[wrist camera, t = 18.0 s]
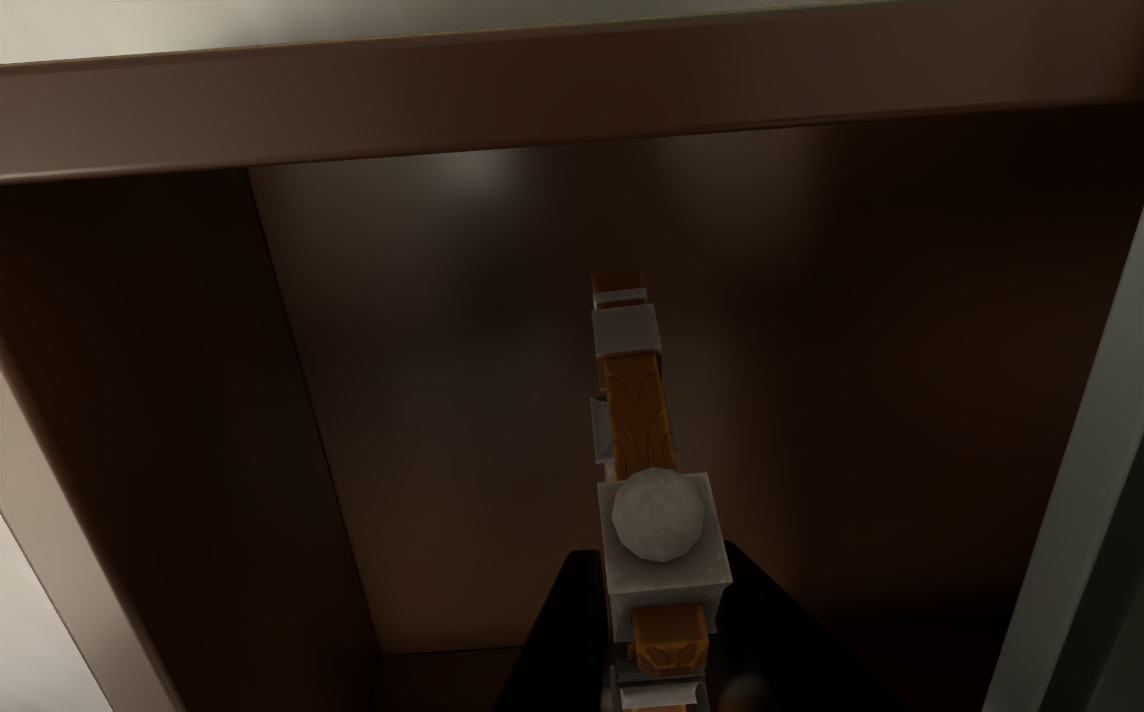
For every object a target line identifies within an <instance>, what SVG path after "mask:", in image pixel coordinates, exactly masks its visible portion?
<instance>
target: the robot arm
mask: <svg viewBox="0 0 1144 712" xmlns="http://www.w3.org/2000/svg"><path fill="white" fill-rule="evenodd" d="M723 542H724V546H725V550H726V554H727V559H728V563H729V567H730V571H731V576H732V580H733V583H731V584H730V585H729V586H727V587H726V588H725V589H723V592H722V596H721V600H720V603H719V607H718V610H717V614H716V617H715V623H716V628H717V633H709V634H708V640H709V647H708V657H709V662H710V667H711V673H712V678H713V683H714V688H715V693H716V698H717V703H718V707H719V712H916V711H915V710H914V709H913V708H912V707H911V706H910V705H909V704H907V703H906V702H905V701H904V700H903V699H902V698H901V697H900V696H899V695H898V694H897V693H896V692H894V691H893V690H892V689H891V688H890V687H889V686H888V685H887V684H886V683H885V682H884V681H883V680H881V679H880V678H879V677H878V676H877V675H876V674H875V673H874V672H873V671H872V670H871V669H869V668H868V667H867V666H866V665H865V664H864V663H863V662H862V661H861V660H860V659H859V658H858V657H856V656H855V655H854V654H853V653H852V652H851V651H850V650H849V649H848V648H847V647H846V646H845V645H843V644H842V643H841V642H840V641H839V640H838V639H837V638H836V637H835V636H834V635H833V634H832V633H830V632H829V631H828V630H827V629H826V628H825V627H824V626H823V625H822V624H821V623H820V622H819V621H817V620H816V619H815V618H814V617H813V616H812V615H811V614H810V613H809V612H808V611H807V610H806V609H804V608H803V607H802V606H801V605H800V604H799V603H798V602H797V601H796V600H795V599H794V598H793V597H791V596H790V595H789V594H788V593H787V592H786V591H785V590H784V589H783V588H782V587H781V586H780V585H778V584H777V583H776V582H775V581H774V580H773V579H772V578H771V577H770V576H769V575H768V574H766V573H765V572H764V571H763V570H762V569H761V568H760V567H759V566H758V565H757V564H756V563H755V562H753V561H752V560H751V559H750V558H749V557H748V556H747V555H746V554H745V553H744V552H743V551H742V550H740V549H739V548H738V547H737V546H736V545H735V544H734V543H733V542H731V541H729V540H723ZM491 712H613V706H612V689H611V671H610V654H609V636H608V619H607V606H606V597H605V588H604V579H603V569H602V560H601V553H600V551H599V550H597V549H586V550H573V551H571V552H569V554H568V555H567V557H566V559H565V561H564V563H563V565H562V567H561V569H560V571H559V573H558V575H557V577H556V579H555V581H554V583H553V585H552V587H551V589H550V591H549V593H548V595H547V597H546V599H545V601H544V604H543V606H542V608H541V610H540V612H539V614H538V616H537V618H536V620H535V622H534V624H533V626H532V628H531V630H530V632H529V634H528V636H527V638H526V640H525V642H524V644H523V646H522V648H521V650H520V652H519V654H518V656H517V659H516V661H515V663H514V665H513V667H512V669H511V671H510V673H509V675H508V677H507V679H506V681H505V683H504V685H503V687H502V689H501V691H500V693H499V695H498V697H497V699H496V701H495V703H494V705H493V707H492V709H491Z"/></svg>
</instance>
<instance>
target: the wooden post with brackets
mask: <svg viewBox="0 0 1144 712" xmlns="http://www.w3.org/2000/svg"><path fill="white" fill-rule="evenodd" d="M592 283H593V292H594V293H593V300H594V309H595V310H591V312H592V321H593V331H594V341H595V350H596V359H597V368H598V376H599V385H600V391H607V396H599V397H590V401H591V413H592V425H593V436H594V448H595V460H596V464H600V463H602V470H603V480H604V483H597V488H598V498H599V507H600V517H601V527H602V536H603V546H604V556H605V565H606V575H607V585H608V594H609V605H610V616H611V628H612V639H613V650H614V662H615V665H613V666H610V671H611V689H612V706H613V712H710V707H709V701H708V695H707V690H706V684H705V678H704V676H706V673H705V668H706V664H705V663H706V660H707V653H708V647H709V640H708V634H709V633H717V628H716V623H715V617H716V614H717V610H718V607H719V603H720V600H721V596H722V592H723V589H725V588H726V587H727V586H729V585H730V584H731V583H733V580H732V576H731V571H730V567H729V563H728V559H727V554H726V550H725V546H724V542H723V537H722V533H721V529H720V525H719V520H718V516H717V512H716V508H715V503H714V499H713V495H712V491H711V486H710V482H709V478H708V473H707V472H701V473H692V474H682V475H680V474H678V472H677V466H676V461H675V456H677V451H676V446H675V441H674V435H673V430H672V425H671V420H670V415H669V410H668V404H667V399H666V394H665V390H662V386H661V385H662V346H661V341H660V336H659V331H658V326H657V321H656V316H655V310H654V305H653V303H652V304H647V292H646V288H643V281H642V270H641V268H638V269H630V270H621V271H612V272H603V273H594V274H592Z"/></svg>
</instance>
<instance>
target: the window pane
mask: <svg viewBox="0 0 1144 712" xmlns="http://www.w3.org/2000/svg"><path fill="white" fill-rule="evenodd" d="M981 712H1144V206H1143V209H1142V212H1141V216H1140V219H1139V222H1138V225H1137V228H1136V231H1135V234H1134V237H1133V241H1132V244H1131V247H1130V250H1129V253H1128V256H1127V259H1126V262H1125V265H1124V269H1123V272H1122V275H1121V278H1120V281H1119V284H1118V287H1117V290H1116V293H1115V297H1114V300H1113V303H1112V306H1111V309H1110V312H1109V315H1108V318H1107V322H1106V325H1105V328H1104V331H1103V334H1102V337H1101V340H1100V343H1099V346H1098V350H1097V353H1096V356H1095V359H1094V362H1093V365H1092V368H1091V371H1090V375H1089V378H1088V381H1087V384H1086V387H1085V390H1084V393H1083V396H1082V399H1081V403H1080V406H1079V409H1078V412H1077V415H1076V418H1075V421H1074V424H1073V427H1072V431H1071V434H1070V437H1069V440H1068V443H1067V446H1066V449H1065V452H1064V456H1063V459H1062V462H1061V465H1060V468H1059V471H1058V474H1057V477H1056V480H1055V484H1054V487H1053V490H1052V493H1051V496H1050V499H1049V502H1048V505H1047V509H1046V512H1045V515H1044V518H1043V521H1042V524H1041V527H1040V530H1039V533H1038V537H1037V540H1036V543H1035V546H1034V549H1033V552H1032V555H1031V558H1030V561H1029V565H1028V568H1027V571H1026V574H1025V577H1024V580H1023V583H1022V586H1021V590H1020V593H1019V596H1018V599H1017V602H1016V605H1015V608H1014V611H1013V614H1012V618H1011V621H1010V624H1009V627H1008V630H1007V633H1006V636H1005V639H1004V642H1003V646H1002V649H1001V652H1000V655H999V658H998V661H997V664H996V667H995V671H994V674H993V677H992V680H991V683H990V686H989V689H988V692H987V695H986V699H985V702H984V705H983V708H982V711H981Z"/></svg>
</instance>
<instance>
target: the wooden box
mask: <svg viewBox="0 0 1144 712" xmlns="http://www.w3.org/2000/svg"><path fill="white" fill-rule="evenodd" d="M1143 206H1144V0H868V1H854V2H841V3H827V4H814V5H800V6H786V7H773V8H759V9H746V10H732V11H718V12H705V13H691V14H677V15H664V16H650V17H637V18H623V19H609V20H596V21H582V22H569V23H555V24H541V25H528V26H514V27H501V28H487V29H473V30H460V31H446V32H433V33H419V34H405V35H392V36H378V37H365V38H351V39H337V40H324V41H310V42H297V43H283V44H269V45H256V46H242V47H229V48H215V49H201V50H188V51H174V52H161V53H147V54H133V55H120V56H106V57H93V58H79V59H65V60H52V61H38V62H24V63H11V64H0V514H1V516H2V518H3V519H4V521H5V523H6V525H7V526H8V528H9V530H10V531H11V533H12V535H13V537H14V538H15V540H16V542H17V544H18V545H19V547H20V549H21V551H22V552H23V554H24V556H25V558H26V559H27V561H28V563H29V565H30V566H31V568H32V570H33V572H34V573H35V575H36V577H37V579H38V580H39V582H40V584H41V586H42V587H43V589H44V591H45V593H46V594H47V596H48V598H49V600H50V601H51V603H52V605H53V607H54V608H55V610H56V612H57V614H58V615H59V617H60V619H61V621H62V622H63V624H64V626H65V628H66V629H67V631H68V633H69V635H70V636H71V638H72V640H73V642H74V643H75V645H76V647H77V649H78V650H79V652H80V654H81V656H82V657H83V659H84V661H85V663H86V664H87V666H88V668H89V670H90V671H91V673H92V675H93V677H94V678H95V680H96V682H97V684H98V685H99V687H100V689H101V691H102V692H103V694H104V696H105V698H106V699H107V701H108V703H109V705H110V706H111V708H112V710H113V712H491V709H492V707H493V705H494V703H495V701H496V699H497V697H498V695H499V693H500V691H501V689H502V687H503V685H504V683H505V681H506V679H507V677H508V675H509V673H510V671H511V669H512V667H513V665H514V663H515V661H516V659H517V656H518V654H519V652H520V650H521V648H522V646H523V644H524V642H525V640H526V638H527V636H528V634H529V632H530V630H531V628H532V626H533V624H534V622H535V620H536V618H537V616H538V614H539V612H540V610H541V608H542V606H543V604H544V601H545V599H546V597H547V595H548V593H549V591H550V589H551V587H552V585H553V583H554V581H555V579H556V577H557V575H558V573H559V571H560V569H561V567H562V565H563V563H564V561H565V559H566V557H567V555H568V554H569V552H571V551H573V550H586V549H597V550H599V551H600V553H601V560H602V569H603V579H604V588H605V597H606V606H607V619H608V636H609V654H610V666H613V665H615V662H614V650H613V639H612V628H611V616H610V605H609V594H608V585H607V575H606V565H605V556H604V546H603V536H602V527H601V517H600V507H599V498H598V488H597V483H604V480H603V470H602V463H600V464H596V460H595V448H594V436H593V425H592V413H591V401H590V397H599V396H607V391H600V385H599V376H598V368H597V359H596V350H595V341H594V331H593V321H592V312H591V310H595V309H594V300H593V293H594V292H593V283H592V274H594V273H603V272H612V271H621V270H630V269H638V268H641V270H642V281H643V288H646V292H647V304H652V303H653V305H654V310H655V316H656V321H657V326H658V331H659V336H660V341H661V346H662V385H661V386H662V390H665V394H666V399H667V404H668V410H669V415H670V420H671V425H672V430H673V435H674V441H675V446H676V451H677V456H675V461H676V466H677V472H678V474H680V475H682V474H692V473H701V472H707V473H708V478H709V482H710V486H711V491H712V495H713V499H714V503H715V508H716V512H717V516H718V520H719V525H720V529H721V533H722V537H723V540H729V541H731V542H733V543H734V544H735V545H736V546H737V547H738V548H739V549H740V550H742V551H743V552H744V553H745V554H746V555H747V556H748V557H749V558H750V559H751V560H752V561H753V562H755V563H756V564H757V565H758V566H759V567H760V568H761V569H762V570H763V571H764V572H765V573H766V574H768V575H769V576H770V577H771V578H772V579H773V580H774V581H775V582H776V583H777V584H778V585H780V586H781V587H782V588H783V589H784V590H785V591H786V592H787V593H788V594H789V595H790V596H791V597H793V598H794V599H795V600H796V601H797V602H798V603H799V604H800V605H801V606H802V607H803V608H804V609H806V610H807V611H808V612H809V613H810V614H811V615H812V616H813V617H814V618H815V619H816V620H817V621H819V622H820V623H821V624H822V625H823V626H824V627H825V628H826V629H827V630H828V631H829V632H830V633H832V634H833V635H834V636H835V637H836V638H837V639H838V640H839V641H840V642H841V643H842V644H843V645H845V646H846V647H847V648H848V649H849V650H850V651H851V652H852V653H853V654H854V655H855V656H856V657H858V658H859V659H860V660H861V661H862V662H863V663H864V664H865V665H866V666H867V667H868V668H869V669H871V670H872V671H873V672H874V673H875V674H876V675H877V676H878V677H879V678H880V679H881V680H883V681H884V682H885V683H886V684H887V685H888V686H889V687H890V688H891V689H892V690H893V691H894V692H896V693H897V694H898V695H899V696H900V697H901V698H902V699H903V700H904V701H905V702H906V703H907V704H909V705H910V706H911V707H912V708H913V709H914V710H915V711H916V712H981V711H982V708H983V705H984V702H985V699H986V695H987V692H988V689H989V686H990V683H991V680H992V677H993V674H994V671H995V667H996V664H997V661H998V658H999V655H1000V652H1001V649H1002V646H1003V642H1004V639H1005V636H1006V633H1007V630H1008V627H1009V624H1010V621H1011V618H1012V614H1013V611H1014V608H1015V605H1016V602H1017V599H1018V596H1019V593H1020V590H1021V586H1022V583H1023V580H1024V577H1025V574H1026V571H1027V568H1028V565H1029V561H1030V558H1031V555H1032V552H1033V549H1034V546H1035V543H1036V540H1037V537H1038V533H1039V530H1040V527H1041V524H1042V521H1043V518H1044V515H1045V512H1046V509H1047V505H1048V502H1049V499H1050V496H1051V493H1052V490H1053V487H1054V484H1055V480H1056V477H1057V474H1058V471H1059V468H1060V465H1061V462H1062V459H1063V456H1064V452H1065V449H1066V446H1067V443H1068V440H1069V437H1070V434H1071V431H1072V427H1073V424H1074V421H1075V418H1076V415H1077V412H1078V409H1079V406H1080V403H1081V399H1082V396H1083V393H1084V390H1085V387H1086V384H1087V381H1088V378H1089V375H1090V371H1091V368H1092V365H1093V362H1094V359H1095V356H1096V353H1097V350H1098V346H1099V343H1100V340H1101V337H1102V334H1103V331H1104V328H1105V325H1106V322H1107V318H1108V315H1109V312H1110V309H1111V306H1112V303H1113V300H1114V297H1115V293H1116V290H1117V287H1118V284H1119V281H1120V278H1121V275H1122V272H1123V269H1124V265H1125V262H1126V259H1127V256H1128V253H1129V250H1130V247H1131V244H1132V241H1133V237H1134V234H1135V231H1136V228H1137V225H1138V222H1139V219H1140V216H1141V212H1142V209H1143ZM705 664H706V668H705V673H706V676H704V678H705V684H706V690H707V695H708V701H709V707H710V712H719V707H718V703H717V698H716V693H715V688H714V683H713V678H712V673H711V667H710V662H709V657H708V653H707V660H706V663H705Z"/></svg>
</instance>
